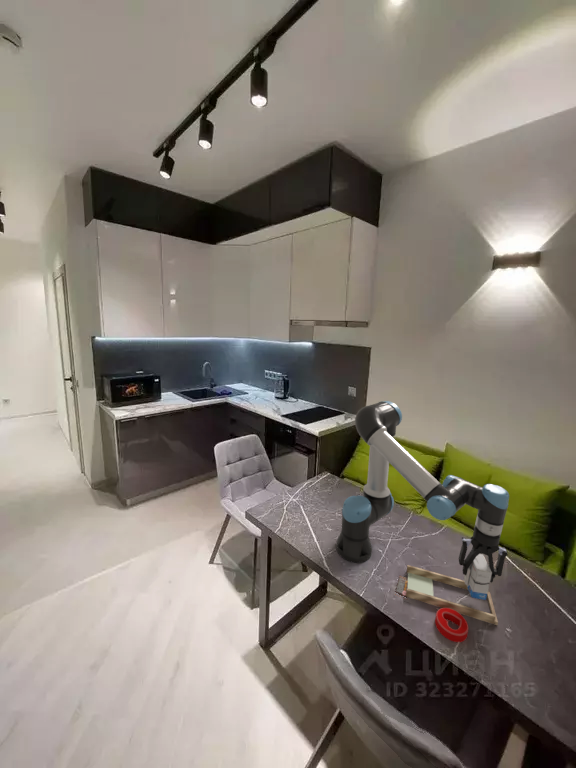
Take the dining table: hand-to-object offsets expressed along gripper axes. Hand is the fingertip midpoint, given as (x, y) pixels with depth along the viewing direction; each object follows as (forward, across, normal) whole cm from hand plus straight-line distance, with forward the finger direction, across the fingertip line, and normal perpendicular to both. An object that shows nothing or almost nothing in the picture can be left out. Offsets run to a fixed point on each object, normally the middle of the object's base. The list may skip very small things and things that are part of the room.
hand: (475, 584), depth 113 cm
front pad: (+8, -17, 0) cm, 19 cm away
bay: (+8, -8, 0) cm, 11 cm away
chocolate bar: (+9, -23, -2) cm, 25 cm away
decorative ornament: (+8, -8, -13) cm, 18 cm away
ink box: (+2, 0, 0) cm, 2 cm away
